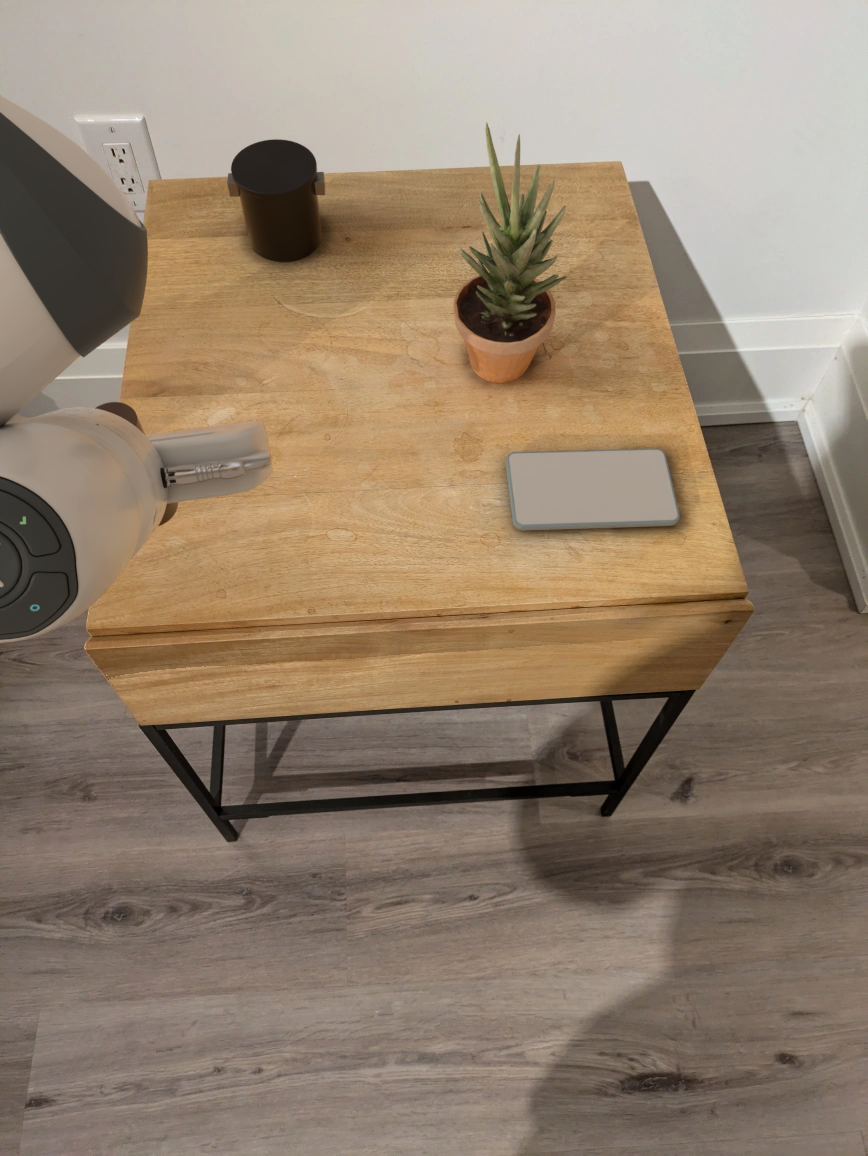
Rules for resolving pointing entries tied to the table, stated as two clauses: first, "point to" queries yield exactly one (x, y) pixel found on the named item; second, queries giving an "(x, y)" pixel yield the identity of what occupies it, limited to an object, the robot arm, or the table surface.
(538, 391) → the table surface
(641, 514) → the smartphone
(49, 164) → the robot arm
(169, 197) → the table surface
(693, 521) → the table surface
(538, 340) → the potted plant
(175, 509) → the walnut pestle
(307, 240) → the black cooking pot
